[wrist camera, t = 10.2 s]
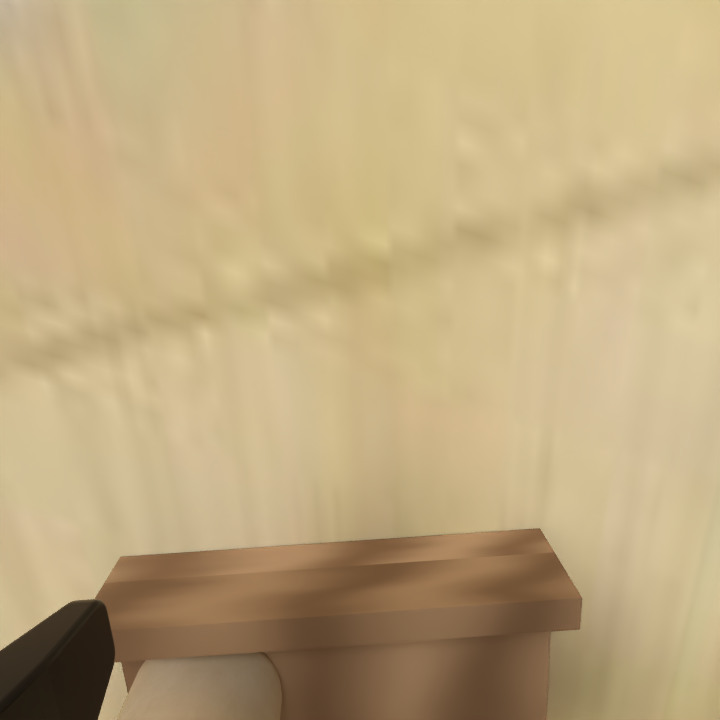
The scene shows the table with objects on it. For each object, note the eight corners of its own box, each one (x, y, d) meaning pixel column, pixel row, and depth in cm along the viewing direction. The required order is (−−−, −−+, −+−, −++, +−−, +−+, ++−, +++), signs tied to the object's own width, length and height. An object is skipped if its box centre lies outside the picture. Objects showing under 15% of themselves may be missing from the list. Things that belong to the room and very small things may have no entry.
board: (539, 528, 22) (581, 598, 18) (532, 712, 24) (568, 807, 20) (120, 556, 21) (73, 633, 17) (157, 740, 24) (122, 841, 20)
